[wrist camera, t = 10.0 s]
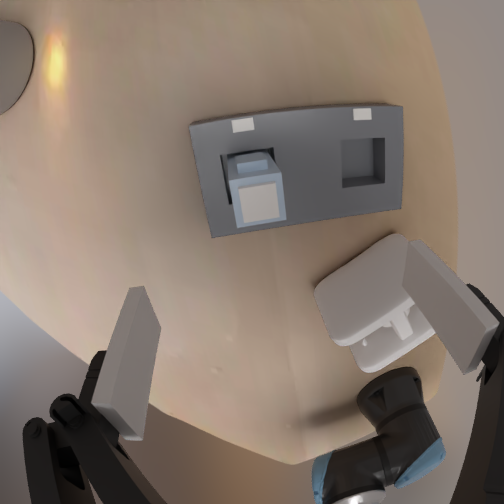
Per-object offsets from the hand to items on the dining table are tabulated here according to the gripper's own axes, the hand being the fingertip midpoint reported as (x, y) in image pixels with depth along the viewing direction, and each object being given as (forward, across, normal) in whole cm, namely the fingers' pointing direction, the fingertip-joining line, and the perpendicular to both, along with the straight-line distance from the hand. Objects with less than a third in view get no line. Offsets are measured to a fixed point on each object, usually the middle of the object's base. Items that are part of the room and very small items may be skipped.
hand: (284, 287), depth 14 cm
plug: (+21, 0, 0) cm, 21 cm away
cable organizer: (+22, -15, +18) cm, 32 cm away
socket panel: (+21, -6, 0) cm, 22 cm away
